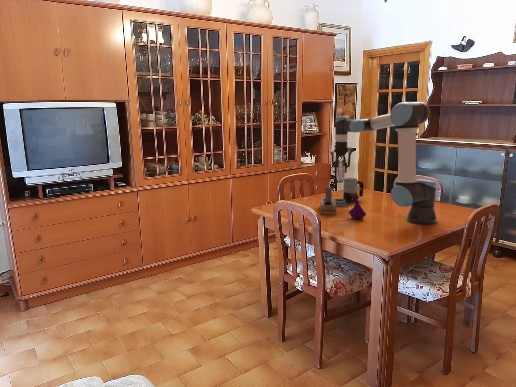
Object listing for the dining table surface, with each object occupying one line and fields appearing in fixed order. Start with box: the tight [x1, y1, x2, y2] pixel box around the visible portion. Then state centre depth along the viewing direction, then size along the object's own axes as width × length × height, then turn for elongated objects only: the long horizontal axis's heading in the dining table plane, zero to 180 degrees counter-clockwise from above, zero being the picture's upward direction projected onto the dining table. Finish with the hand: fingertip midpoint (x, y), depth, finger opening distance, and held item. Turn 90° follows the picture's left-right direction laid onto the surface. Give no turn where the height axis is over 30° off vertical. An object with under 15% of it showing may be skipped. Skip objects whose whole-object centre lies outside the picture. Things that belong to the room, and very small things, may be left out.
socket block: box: [334, 198, 349, 208], centre depth 260 cm, size 10×10×3 cm
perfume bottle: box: [348, 187, 367, 221], centre depth 227 cm, size 8×8×18 cm
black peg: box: [324, 186, 333, 205], centre depth 241 cm, size 4×4×14 cm
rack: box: [319, 197, 337, 216], centre depth 246 cm, size 18×9×6 cm, turn 172°
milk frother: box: [342, 177, 365, 203], centre depth 273 cm, size 14×16×15 cm
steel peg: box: [337, 159, 345, 184], centre depth 255 cm, size 4×4×14 cm
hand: (340, 177), depth 256 cm, fingers closed on steel peg, 4 cm apart
